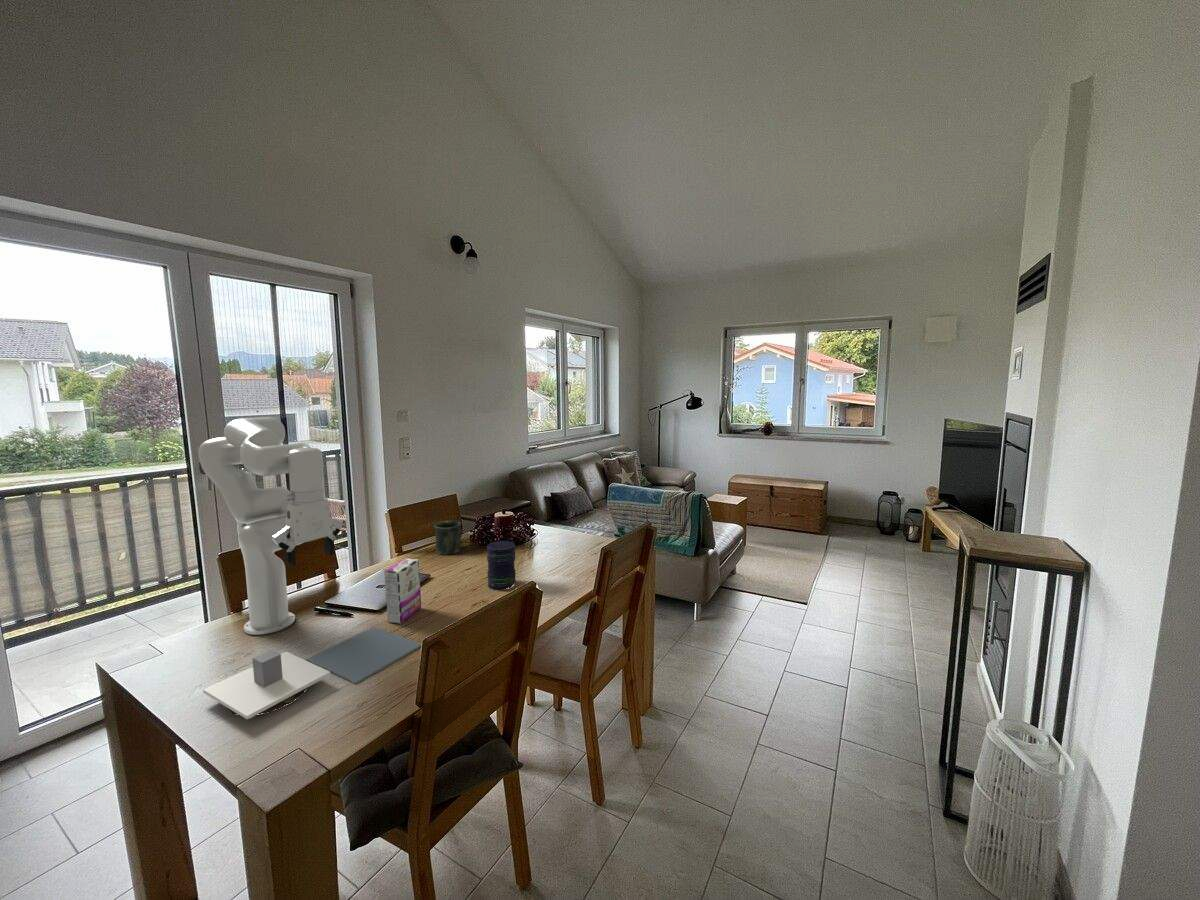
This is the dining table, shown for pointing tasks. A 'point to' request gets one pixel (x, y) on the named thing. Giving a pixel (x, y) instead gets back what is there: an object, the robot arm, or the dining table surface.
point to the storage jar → (501, 564)
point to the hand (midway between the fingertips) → (310, 559)
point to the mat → (364, 654)
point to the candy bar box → (402, 590)
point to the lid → (265, 683)
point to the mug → (448, 537)
